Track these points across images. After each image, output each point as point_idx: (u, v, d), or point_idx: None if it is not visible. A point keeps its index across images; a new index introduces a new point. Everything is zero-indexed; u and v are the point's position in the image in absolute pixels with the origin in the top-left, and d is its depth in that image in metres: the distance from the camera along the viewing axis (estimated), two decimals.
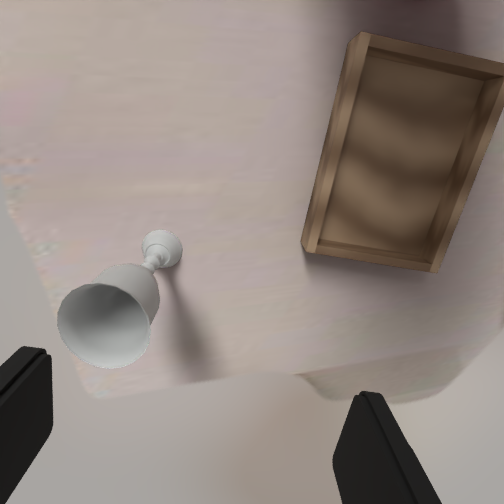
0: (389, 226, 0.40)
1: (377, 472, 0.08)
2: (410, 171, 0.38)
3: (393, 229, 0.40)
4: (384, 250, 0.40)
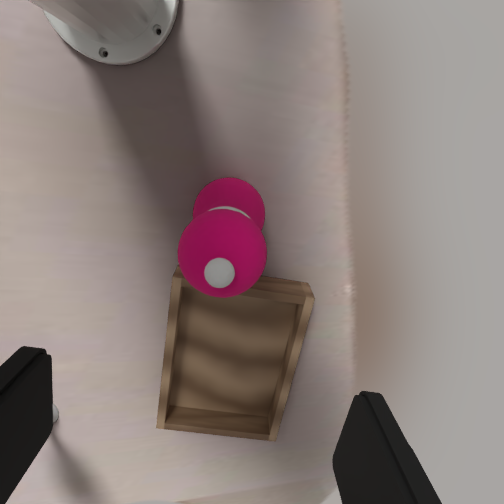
0: (237, 396, 0.45)
1: (377, 472, 0.08)
2: (248, 356, 0.43)
3: (240, 398, 0.45)
4: (234, 415, 0.46)
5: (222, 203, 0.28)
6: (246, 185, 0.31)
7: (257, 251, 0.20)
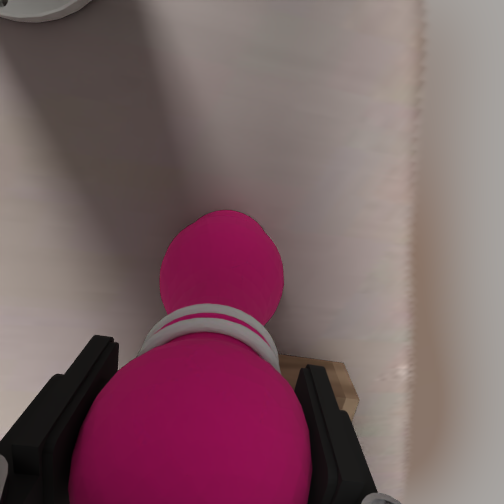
0: None
1: (309, 433, 0.09)
2: None
3: None
4: None
5: (207, 278, 0.14)
6: (252, 232, 0.18)
7: (293, 496, 0.07)
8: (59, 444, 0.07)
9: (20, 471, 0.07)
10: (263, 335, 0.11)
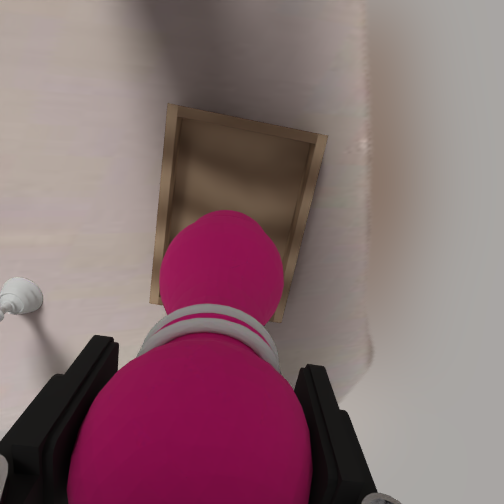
0: None
1: None
2: None
3: None
4: None
5: (207, 277, 0.14)
6: (252, 232, 0.18)
7: (294, 497, 0.07)
8: (59, 444, 0.07)
9: (20, 471, 0.07)
10: (263, 335, 0.11)
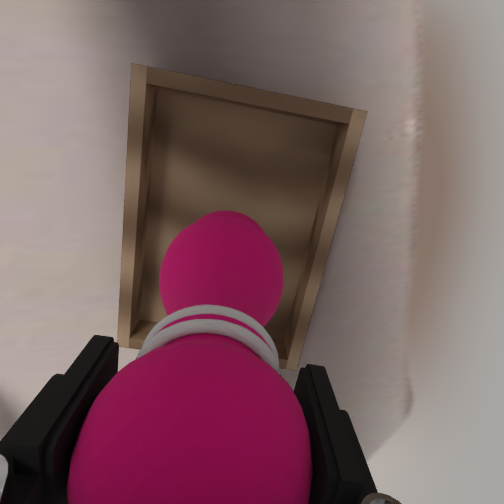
0: None
1: (309, 433, 0.09)
2: None
3: None
4: None
5: (207, 278, 0.14)
6: (252, 232, 0.18)
7: (294, 499, 0.07)
8: (59, 444, 0.07)
9: (20, 471, 0.07)
10: (263, 336, 0.11)
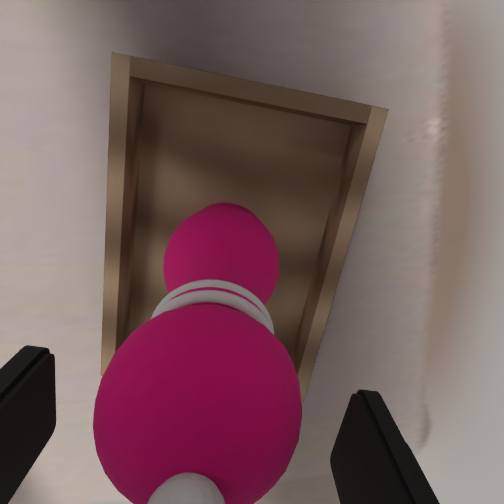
0: None
1: (374, 470, 0.08)
2: None
3: None
4: None
5: (208, 260, 0.15)
6: (249, 220, 0.19)
7: (284, 427, 0.08)
8: None
9: None
10: (259, 307, 0.13)
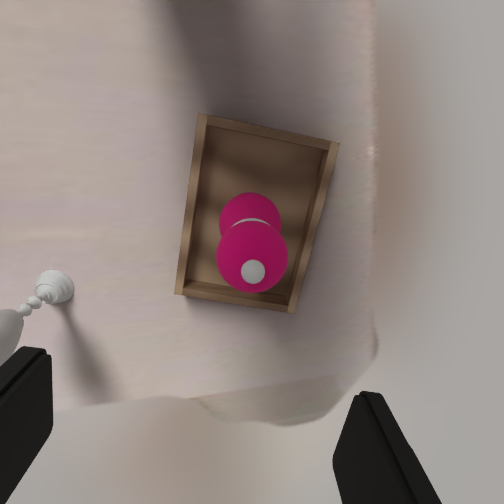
0: None
1: (377, 472, 0.08)
2: None
3: None
4: None
5: (247, 215, 0.33)
6: (266, 199, 0.36)
7: (281, 254, 0.25)
8: None
9: None
10: None
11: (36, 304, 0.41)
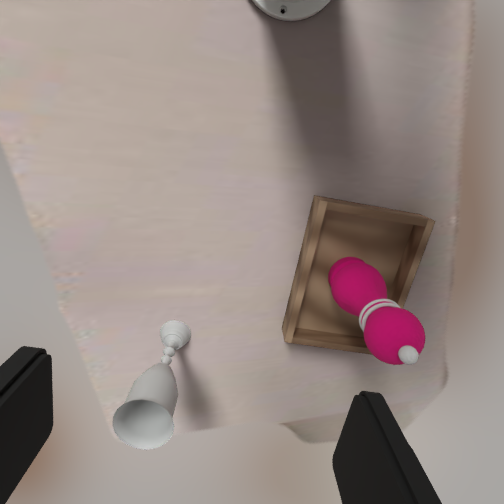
0: (349, 318, 0.52)
1: (377, 472, 0.08)
2: None
3: (352, 320, 0.52)
4: (345, 336, 0.53)
5: (370, 290, 0.40)
6: (375, 270, 0.44)
7: (424, 337, 0.33)
8: None
9: None
10: None
11: (171, 354, 0.49)
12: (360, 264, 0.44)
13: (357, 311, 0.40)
